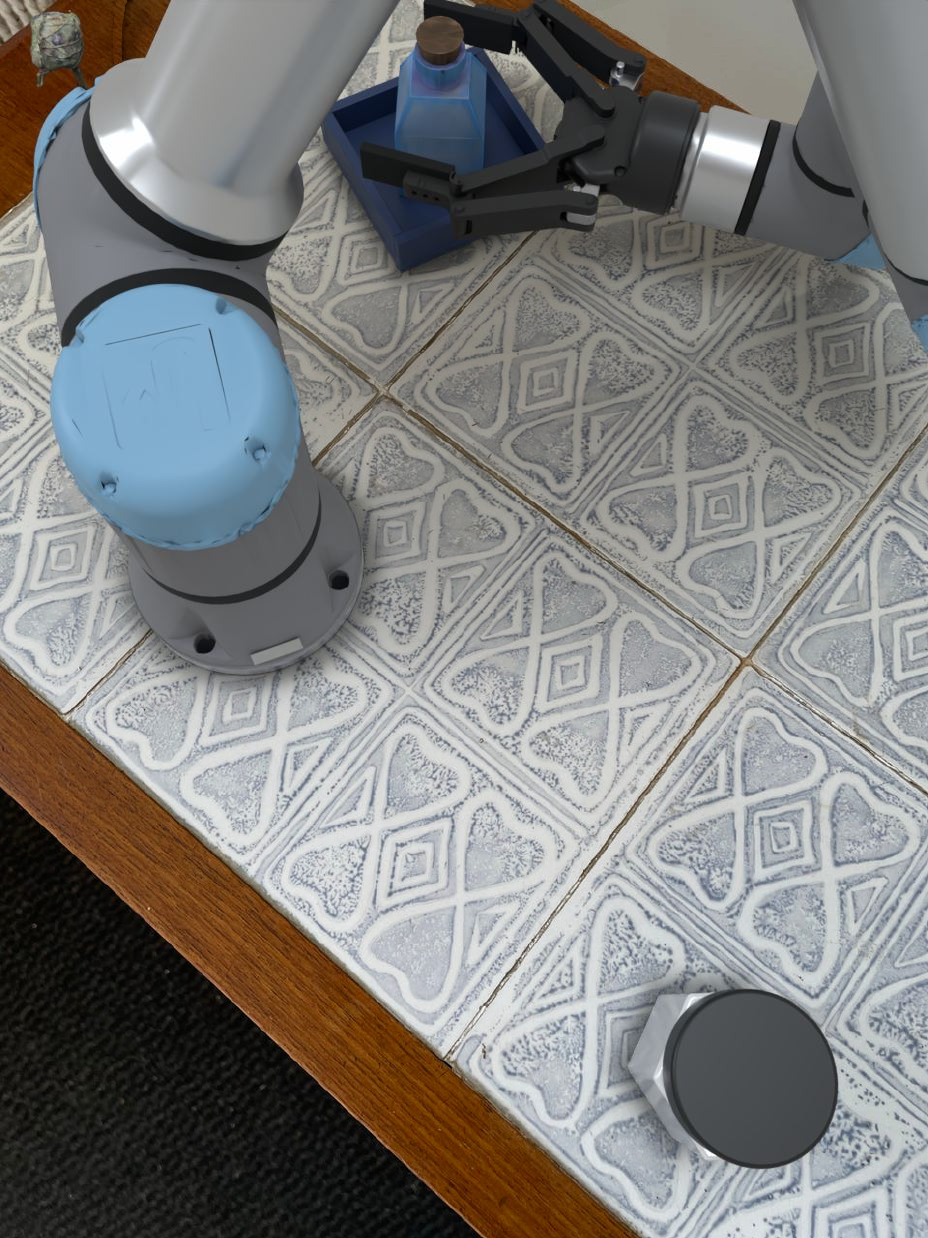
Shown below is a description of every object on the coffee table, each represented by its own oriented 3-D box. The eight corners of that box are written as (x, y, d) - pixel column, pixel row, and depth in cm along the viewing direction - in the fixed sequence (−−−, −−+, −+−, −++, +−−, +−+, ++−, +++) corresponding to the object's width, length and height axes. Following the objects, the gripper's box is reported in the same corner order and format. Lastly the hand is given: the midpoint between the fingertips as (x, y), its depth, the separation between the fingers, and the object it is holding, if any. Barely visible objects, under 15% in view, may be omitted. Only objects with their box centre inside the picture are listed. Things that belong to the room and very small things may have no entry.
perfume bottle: (484, 132, 86) (488, -1, 74) (481, 199, 84) (485, 73, 72) (403, 129, 86) (395, -4, 74) (399, 195, 84) (389, 70, 72)
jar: (739, 1175, 63) (800, 1213, 52) (608, 1103, 65) (640, 1125, 53) (798, 1025, 66) (868, 1031, 55) (671, 958, 67) (714, 950, 56)
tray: (323, 140, 86) (318, 107, 83) (479, 76, 88) (480, 42, 85) (400, 273, 83) (398, 244, 79) (562, 203, 85) (566, 173, 82)
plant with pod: (241, 220, 84) (177, -6, 65) (98, 276, 82) (-9, 61, 63) (200, 141, 86) (128, -100, 67) (61, 194, 85) (-54, -37, 66)
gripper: (633, 341, 76) (340, 260, 78) (719, 68, 84) (450, 0, 86) (651, 274, 69) (328, 186, 71) (743, -18, 77) (449, -90, 79)
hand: (394, 84), depth 79 cm, fingers open, 13 cm apart
